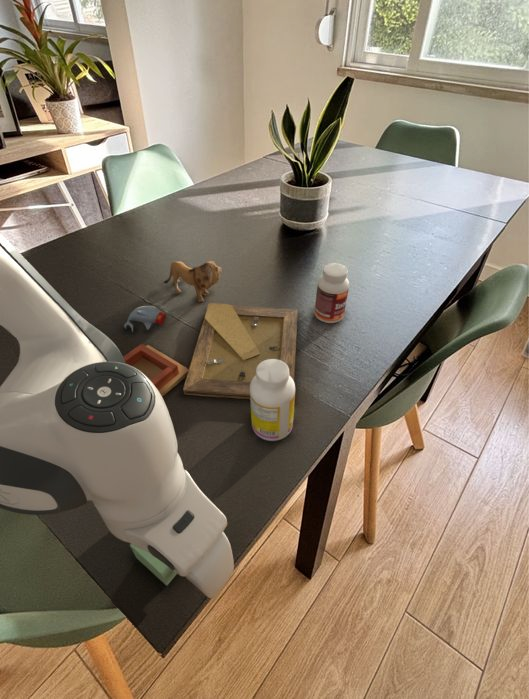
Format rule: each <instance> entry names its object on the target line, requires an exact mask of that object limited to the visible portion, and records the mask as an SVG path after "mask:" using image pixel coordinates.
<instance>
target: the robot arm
mask: <svg viewBox="0 0 529 699" xmlns="http://www.w3.org/2000/svg"><path fill="white" fill-rule="evenodd" d="M0 326H1V327H2V328H4V329H5V330H6V331H7V332H8V333H10V334H11V335H12V336H13V337H15V339H16V340H17V342H18V345H19V357H18V360H17V363H16V365H15V366H14V368H13V369H12V371H11V372H9V374H8V376H7V377H6V378H5V379H4V381H3V383H2V384H1V385H0V509H2V510H4V511H7V512H11V513H16V514H21V515H28V516H29V515H30V516H32V515H33V516H44V515H53V514H57V513H62V512H66V511H70V510H75V509H77V508H80V507H82V506H84V505H86V504H88V501H90V502H92V503H93V505H94V507H95V509H96V511H97V512H98V514H99V515H100V517H101V519H102V521H103V522H104V524H105V526H106V528H107V529H108V531H109V532H110V533H111V535H113V536H114V537H116V538H117V539H118V540H120V541H122V542H126V543H129V544H132V545H134V546H136V547H138V548H140V549H142V550H144V551H146V552H148V553H150V554H152V555H153V556H154V557H156V558H157V559H159V560H160V561H161V562H163V563H164V564H165V565H167V566H168V567H169V568H170V569H171V570H174V571H175V572H176V573H177V574H176V575H178V576H180V577H185V578H186V579H187V580H188V581H189V582H190V583H191V584H192V585H194V586H195V587H196V588H197V589H198V590H199V591H200V592H201V593H202V594H203V595H204V596H206V597H207V598H209V599H214V598H216V596H217V595H219V593H220V592H221V591H222V590H223V588H225V585H226V584H227V583H228V582H229V580H230V578H231V577H232V575H233V573H234V571H235V563H234V556H233V550H232V546H231V543H230V541H229V539H228V536H227V535H226V533H225V529H226V528H227V526H228V520H227V516H226V515H225V514H224V513H223V511H221V510H220V509H219V508H218V507H217V506H216V504H214V502H213V501H212V500H211V499H210V498H209V497H208V496H207V495H206V494H205V493H204V492H203V491H202V490H201V489H200V488H199V486H198V485H197V483H196V482H195V481H194V479H193V478H192V476H191V475H190V473H189V471H187V470H186V469H185V468H184V465H183V461H182V458H181V456H180V454H179V453H178V449H179V448H178V440H177V435H176V432H175V428H174V424H173V421H172V418H171V416H170V412H169V409H168V406H167V405H166V402H165V400H164V398H163V397H162V396H161V394H160V393H159V391H158V390H157V388H156V387H155V386H154V384H153V383H152V382H151V381H150V380H149V379H148V378H147V377H146V376H145V375H144V374H143V373H142V372H141V371H139V370H138V369H136V368H134V367H132V366H130V365H127V364H126V363H125V361H124V358H123V356H124V355H123V354H122V352H121V351H120V349H119V348H118V346H117V345H116V343H115V342H114V341H113V340H112V339H111V338H110V337H109V336H107V335H106V334H105V333H104V332H102V330H100V329H99V328H97V327H95V326H94V324H91V323H90V322H88V321H87V320H86V319H85V318H84V317H82V316H81V315H80V314H79V313H78V312H77V311H76V310H75V309H74V308H73V307H72V306H71V305H70V304H69V303H68V301H66V300H65V299H64V298H63V296H61V294H60V293H59V292H57V290H56V289H55V288H54V287H53V286H52V285H51V284H50V283H49V282H48V281H47V279H45V278H44V277H43V275H42V274H40V273H39V271H38V270H37V269H36V268H35V267H34V266H33V265H32V264H31V263H30V262H29V261H28V260H27V259H26V258H25V256H23V255H22V253H20V251H18V250H17V248H15V246H14V245H12V243H11V242H10V241H9V240H8V239H7V238H6V237H5V236H4V235H3V234H2V233H1V232H0Z"/></svg>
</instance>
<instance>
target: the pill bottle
mask: <svg viewBox="0 0 529 699" xmlns="http://www.w3.org/2000/svg"><path fill="white" fill-rule="evenodd" d="M348 273H349V272H348V268H347V267H346V266H345V265H344V264H340V263H333V262H332V263H327V264H326V265H324V266H323V269H322V274H321V276H319V278H318V280H317V285H316V294H315V302H314V303H315V304H314V316H315V317H316V319H317V320H319V321H321V322H322V323H326V324H335V323H336V324H337V323H339V322H340V321H341V320H343V319H344V316H345V312H346V307H347V300H348V295H349V289H350V280H349V279H348V278H347V277H348Z"/></svg>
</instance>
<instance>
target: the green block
mask: <svg viewBox="0 0 529 699" xmlns="http://www.w3.org/2000/svg"><path fill="white" fill-rule="evenodd" d="M129 547H130V549H131V551H132V552H133V555H134V557H135V558H136V559H137V560H138V561H139V562H140V563H141V564H142V565H143V566H144V567H145V568H147V569H148V570H149V571H150V572H151V573H152V574H153V575H154V576H155V577H156V578H157V579H158V580H159V581H160V582H162V583H163V585H165V586H166V587H168V586H169V584H170V583H171V581H173V579H174V578H175V577H176V576H177V575H178V574H177V573H176V572H175V571H174V570H171V569H170V568H169V567H168V566H167V565H165V564H164V563H163V562H161V561H160V560H159V559H157V558H156V557H154V556H153V555H152V554H150V553H148V552H146V551H144V550H142V549H140V548H138V547H136V546H134V545H132V544H131V543H129Z"/></svg>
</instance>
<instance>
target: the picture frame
mask: <svg viewBox="0 0 529 699" xmlns="http://www.w3.org/2000/svg"><path fill="white" fill-rule="evenodd" d="M204 315H205V316H204V319H203V322H202V325H201V328H200V332H199V335H198V337H197V338H198V339H197V342H196V344H195V348H194V351H193V355H192V358H191V361H190V365H189V368H188V369H189V371H188V375H187V377H185V382H184V385H183V388H182V390H183V395H185V396H196V397H210V398H225V399H238V400H239V399H241V400H250V384H251V381H252V379H253V378H254V377H255V376H256V369H257V366H258V365H259V364H260V363H261V362H263V361H265V360H268V359H277V360H280V361H282V362H284V363H285V364H286V365H287V366H288V368H289V376H290V377H291V378H292V379H293V381H294V382H295V369H296V352H297V350H296V349H297V333H298V332H297V330H298V308H285V307H284V308H282V307H266V306H265V307H264V306H248V305H247V306H246V305H232V304H229V303H215V302H214V303H212V302H208V305H207V308H206V311H205V314H204Z"/></svg>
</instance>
